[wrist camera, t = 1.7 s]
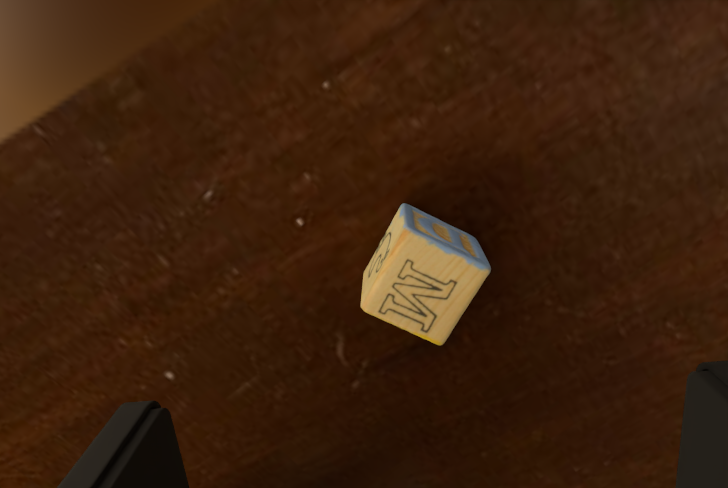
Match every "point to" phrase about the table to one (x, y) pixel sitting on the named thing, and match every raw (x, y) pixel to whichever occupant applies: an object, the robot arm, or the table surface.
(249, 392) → the table surface
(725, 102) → the table surface
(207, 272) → the table surface
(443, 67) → the table surface
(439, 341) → the alphabet block
